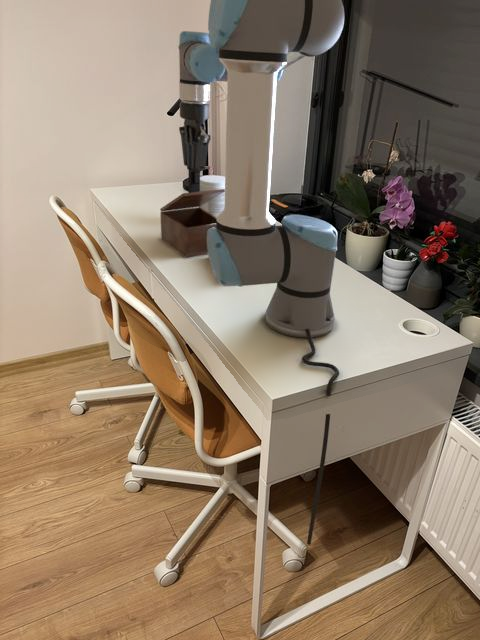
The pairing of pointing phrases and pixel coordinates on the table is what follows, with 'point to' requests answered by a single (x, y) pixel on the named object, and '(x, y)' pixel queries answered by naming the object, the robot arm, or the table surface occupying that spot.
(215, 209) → the supplement tub
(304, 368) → the table surface
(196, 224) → the chest
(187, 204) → the lid
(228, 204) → the robot arm
